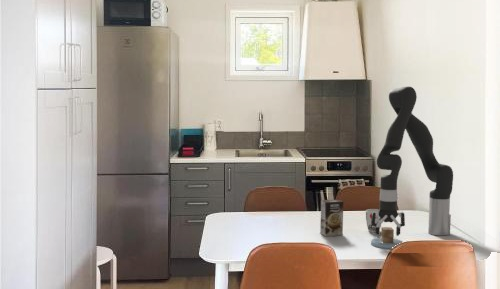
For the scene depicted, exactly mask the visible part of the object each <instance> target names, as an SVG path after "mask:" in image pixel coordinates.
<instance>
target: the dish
mask: <svg viewBox="0 0 500 289" xmlns="http://www.w3.org/2000/svg"><path fill="white" fill-rule="evenodd" d="M402 242H404V241H403V240H401V239H398V238H393V243H383V242H382V241H381V237H375V238H372V239H371V241H370V245H371V246H373V247H375V248H379V249H385V250H392V249H391V248H392V247H394V246H395V245H397V244H399V243H402Z"/></svg>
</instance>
